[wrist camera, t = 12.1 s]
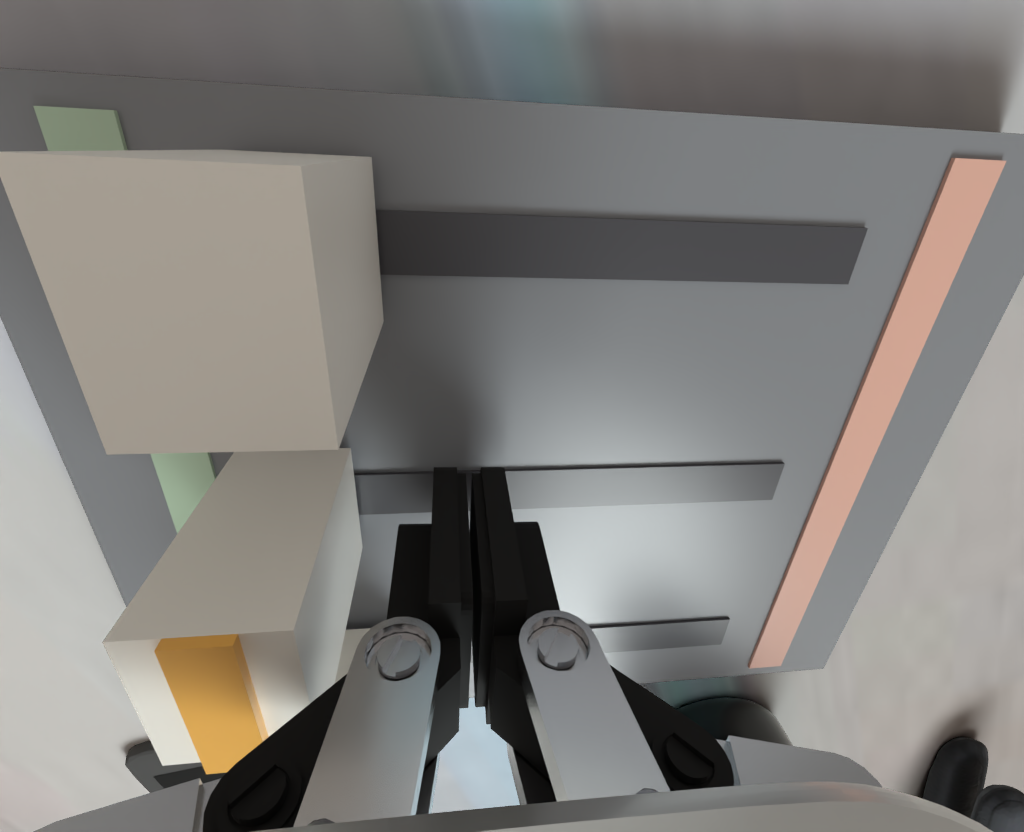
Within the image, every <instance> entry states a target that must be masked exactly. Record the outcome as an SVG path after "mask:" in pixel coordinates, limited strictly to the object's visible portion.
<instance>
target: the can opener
mask: <svg viewBox="0 0 1024 832" xmlns="http://www.w3.org/2000/svg"><path fill="white" fill-rule="evenodd" d="M987 767H988V751H987V748H986V747H985V745H984V744H982V743H981V742H979V741H977V740H974V739H971V738H967V737H958V738H955V739H952V740H950V741H949V742H947V743H946V744H945V745H943V746H942V748H941V749H940V750H939V752H938V754H937V756H936V759H935V760H934V763H933V765H932V767H931V769H930V772H929V775H928V778H927V783H926V786H925V791H924V796H923V799H925V800H928V801H930V802H933V803H936V804H939V805H942V806H944V807H946V808H949V809H951V810H953V811H956V812H958V813H960V814H962V815H964V816H966V817H968V818H970V819H972V820H974V821H976V822H978V823H980V824H982V825H983V826H985V827H987V828H988V829H990V830H991V831H993V832H1024V794H1023V793H1022V792H1021V791H1019V790H1017V789H1015V788H1013V787H1010V786H1006V785H991V786H988V787H986V788H984V784H985V777H986V773H987ZM983 788H984V789H983Z"/></svg>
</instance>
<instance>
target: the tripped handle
mask: <svg viewBox="0 0 1024 832" xmlns="http://www.w3.org/2000/svg"><path fill="white" fill-rule="evenodd" d="M362 548H363V547H362V538H361V530H360V521H359V513H358V505H357V496H356V488H355V479H354V471H353V463H352V454H351V448H339V450H303V451H255V452H234V453H233V455H232V456H231V457H230V459H229V460H228V462H227V463H226V465H225V466H224V468H223V469H222V470H221V472H220V473H219V475H218V476H217V478H216V479H215V480H214V482H213V483H212V485H211V486H210V488H209V489H208V491H207V492H206V493H205V495H204V496H203V498H202V499H201V501H200V502H199V504H198V505H197V506H196V508H195V509H194V511H193V512H192V514H191V515H190V517H189V518H188V519H187V521H186V522H185V524H184V525H183V527H182V528H181V530H180V531H179V532H178V534H177V535H176V537H175V538H174V540H173V541H172V543H171V544H170V545H169V547H168V548H167V550H166V551H165V553H164V554H163V556H162V557H161V558H160V560H159V561H158V563H157V564H156V566H155V567H154V569H153V570H152V571H151V573H150V574H149V576H148V577H147V579H146V580H145V582H144V583H143V584H142V586H141V587H140V589H139V590H138V592H137V593H136V595H135V596H134V597H133V599H132V600H131V602H130V603H129V605H128V606H127V608H126V609H125V610H124V612H123V613H122V615H121V616H120V618H119V619H118V621H117V622H116V623H115V625H114V626H113V628H112V629H111V631H110V632H109V634H108V635H107V636H106V638H105V639H104V641H103V642H102V643H103V645H104V647H105V649H106V651H107V653H108V655H109V657H110V659H111V661H112V663H113V665H114V667H115V669H116V671H117V673H118V675H119V677H120V680H121V682H122V684H123V686H124V688H125V690H126V692H127V694H128V696H129V698H130V700H131V702H132V704H133V706H134V708H135V710H136V712H137V714H138V716H139V718H140V721H141V723H142V725H143V727H144V729H145V731H146V733H147V735H148V737H149V739H150V741H151V743H152V745H153V747H154V749H155V751H156V753H157V755H158V757H159V760H160V762H161V764H162V766H166V765H177V764H188V763H199V762H201V763H202V766H203V768H204V770H205V773H206V774H216V773H227V772H228V771H229V770H230V769H231V768H232V767H233V766H234V765H235V764H236V763H237V762H238V761H240V760H241V759H242V758H243V757H245V756H246V755H247V754H248V753H250V752H251V751H252V750H253V749H254V748H256V747H257V746H258V745H259V744H261V743H262V742H263V741H264V740H266V739H267V738H268V737H269V736H271V735H272V734H273V733H274V732H276V731H277V730H278V729H279V728H280V727H282V726H283V725H284V724H285V723H287V722H288V721H289V720H290V719H292V718H293V717H294V716H295V715H297V714H298V713H299V712H300V711H301V710H303V709H304V708H305V707H306V706H308V705H309V704H310V703H311V702H313V701H314V700H315V699H316V698H318V697H319V696H320V695H321V694H323V693H324V692H325V691H326V690H327V689H329V688H330V687H331V686H332V685H334V684H335V679H336V674H337V669H338V665H339V660H340V655H341V650H342V645H343V640H344V636H345V631H346V626H347V621H348V616H349V611H350V606H351V602H352V597H353V592H354V587H355V582H356V577H357V573H358V568H359V563H360V558H361V553H362Z"/></svg>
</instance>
